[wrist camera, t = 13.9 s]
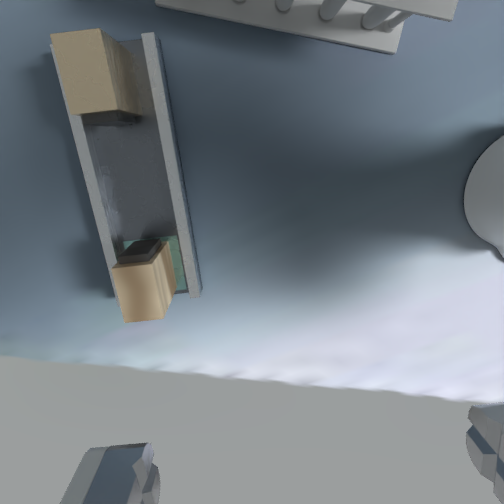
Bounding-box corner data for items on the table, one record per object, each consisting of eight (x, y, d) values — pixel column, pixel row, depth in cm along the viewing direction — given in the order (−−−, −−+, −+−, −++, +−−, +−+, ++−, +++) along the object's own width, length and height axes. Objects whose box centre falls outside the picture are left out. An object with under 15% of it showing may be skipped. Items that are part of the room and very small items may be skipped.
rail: (160, 40, 36) (134, 8, 27) (202, 287, 44) (193, 323, 36) (63, 51, 36) (8, 24, 27) (125, 296, 44) (97, 334, 36)
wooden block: (167, 234, 41) (150, 256, 33) (177, 286, 43) (163, 318, 36) (133, 238, 41) (109, 261, 33) (145, 290, 43) (124, 323, 36)
